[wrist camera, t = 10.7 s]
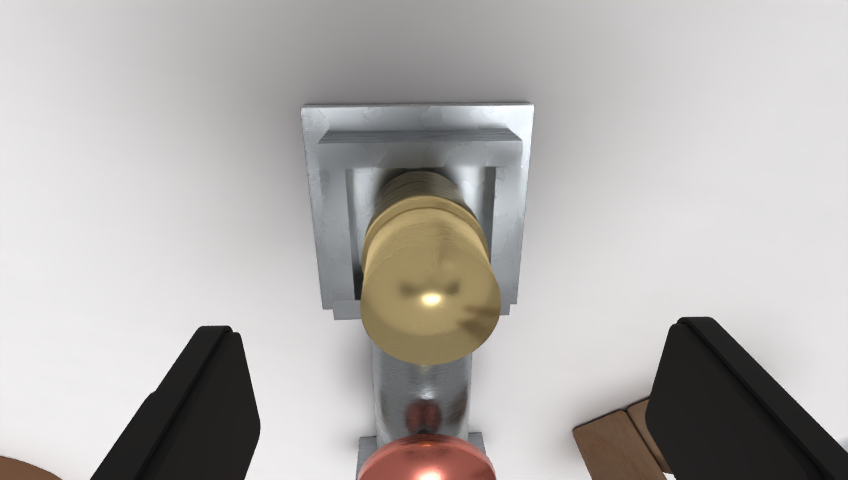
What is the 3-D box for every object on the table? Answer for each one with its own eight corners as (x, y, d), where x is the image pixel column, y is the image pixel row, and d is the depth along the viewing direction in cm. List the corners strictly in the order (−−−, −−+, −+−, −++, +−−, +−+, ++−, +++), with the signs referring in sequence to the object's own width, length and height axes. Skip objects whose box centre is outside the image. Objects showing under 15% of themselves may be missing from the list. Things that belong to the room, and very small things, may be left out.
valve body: (305, 104, 20) (248, 143, 13) (528, 102, 21) (600, 138, 13) (342, 452, 29) (320, 597, 21) (499, 445, 29) (533, 586, 22)
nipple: (366, 166, 20) (348, 239, 13) (472, 165, 21) (513, 236, 13) (371, 262, 22) (358, 372, 15) (469, 260, 23) (502, 367, 15)
